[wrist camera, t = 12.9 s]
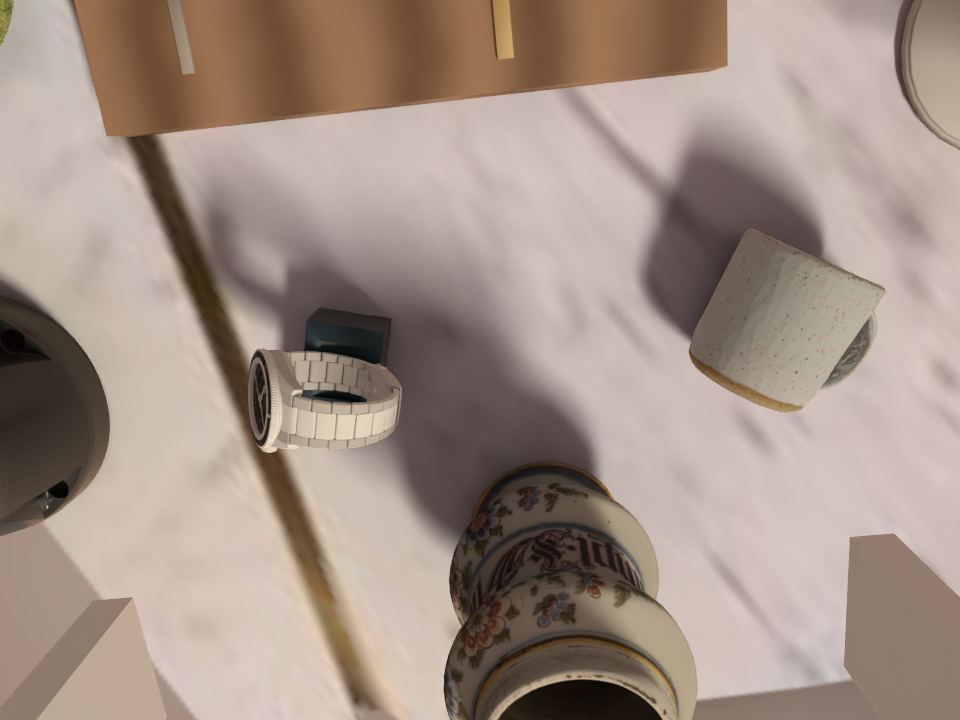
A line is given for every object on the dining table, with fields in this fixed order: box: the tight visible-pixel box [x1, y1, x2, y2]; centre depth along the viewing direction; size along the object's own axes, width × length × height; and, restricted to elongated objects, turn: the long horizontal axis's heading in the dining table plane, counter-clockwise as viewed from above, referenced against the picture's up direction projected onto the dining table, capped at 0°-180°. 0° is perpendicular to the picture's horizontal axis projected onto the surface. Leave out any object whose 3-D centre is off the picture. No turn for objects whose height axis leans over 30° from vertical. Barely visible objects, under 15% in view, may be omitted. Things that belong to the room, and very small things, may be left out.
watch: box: [248, 308, 402, 453], centre depth 39 cm, size 6×8×11 cm
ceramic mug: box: [689, 228, 885, 412], centre depth 39 cm, size 11×8×8 cm
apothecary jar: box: [444, 462, 697, 720], centre depth 39 cm, size 12×12×18 cm
